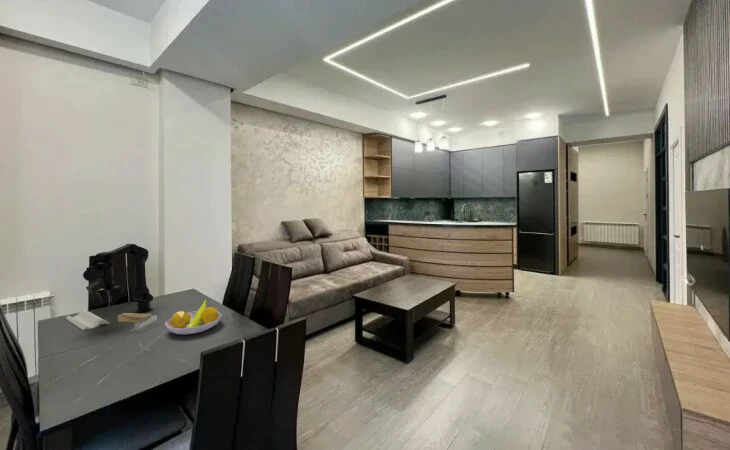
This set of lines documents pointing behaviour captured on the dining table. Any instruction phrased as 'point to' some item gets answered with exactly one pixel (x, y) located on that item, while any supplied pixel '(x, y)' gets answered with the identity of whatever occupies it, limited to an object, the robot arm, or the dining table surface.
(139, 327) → the fulcrum stand
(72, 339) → the dining table surface
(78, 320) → the crown molding
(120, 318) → the oak batten
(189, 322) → the fruit bowl
